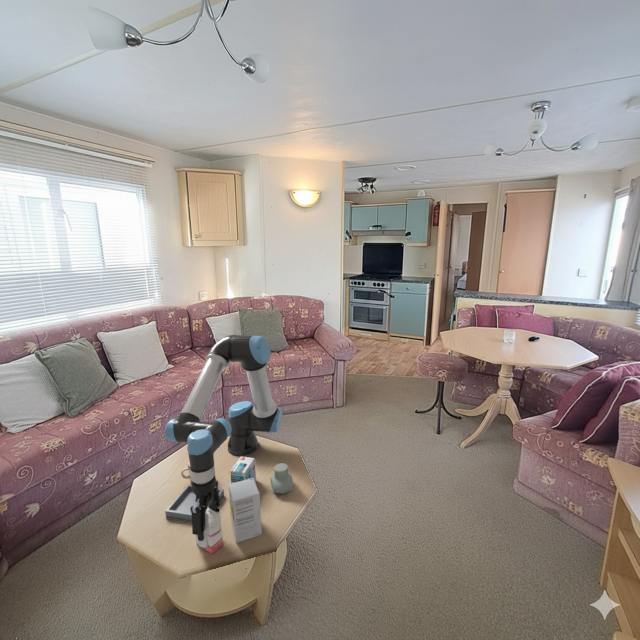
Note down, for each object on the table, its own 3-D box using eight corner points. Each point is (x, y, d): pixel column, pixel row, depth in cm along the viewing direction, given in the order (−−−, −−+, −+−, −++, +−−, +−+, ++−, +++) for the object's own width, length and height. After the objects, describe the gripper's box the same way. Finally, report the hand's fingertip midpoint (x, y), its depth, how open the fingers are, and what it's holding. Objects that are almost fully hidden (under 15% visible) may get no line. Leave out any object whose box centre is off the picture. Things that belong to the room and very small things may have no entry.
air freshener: (294, 494, 139) (293, 473, 137) (274, 499, 137) (273, 477, 135) (288, 478, 149) (288, 457, 147) (270, 482, 147) (269, 461, 145)
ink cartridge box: (223, 544, 116) (220, 506, 113) (212, 554, 112) (208, 516, 109) (207, 533, 121) (203, 496, 118) (195, 543, 117) (191, 505, 114)
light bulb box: (246, 496, 139) (245, 473, 136) (231, 494, 140) (229, 471, 138) (256, 479, 149) (255, 457, 147) (242, 477, 150) (240, 455, 148)
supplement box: (231, 524, 125) (227, 483, 121) (256, 516, 128) (253, 476, 125) (235, 544, 116) (232, 501, 113) (262, 535, 120) (260, 492, 116)
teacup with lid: (210, 470, 155) (208, 447, 153) (212, 483, 147) (210, 458, 145) (181, 478, 150) (179, 454, 148) (182, 491, 142) (180, 466, 140)
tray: (188, 490, 142) (188, 484, 142) (224, 495, 139) (223, 489, 139) (166, 517, 128) (165, 511, 127) (204, 524, 125) (204, 517, 124)
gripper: (208, 458, 121) (213, 514, 126) (174, 496, 103) (182, 560, 107) (227, 460, 120) (231, 517, 125) (197, 499, 101) (204, 564, 106)
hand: (208, 537), depth 116 cm, fingers closed on ink cartridge box, 6 cm apart
